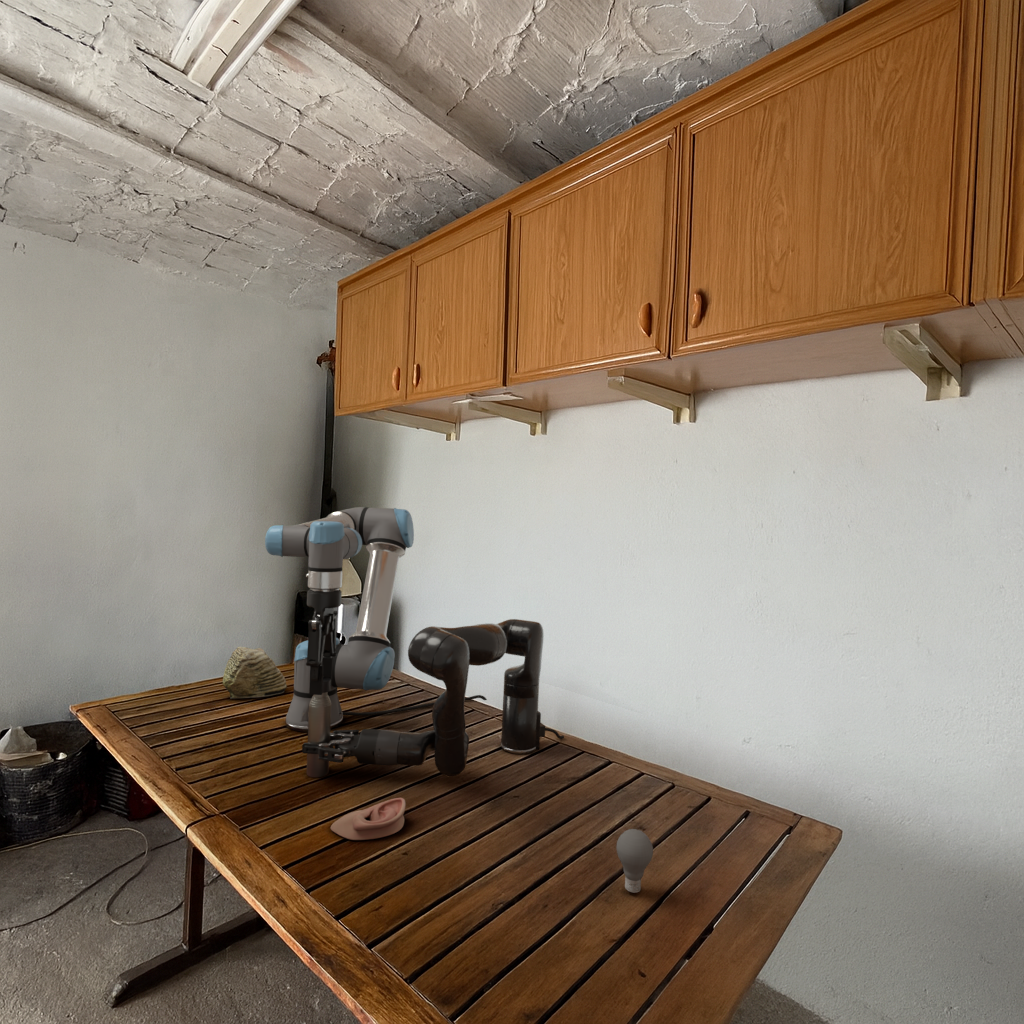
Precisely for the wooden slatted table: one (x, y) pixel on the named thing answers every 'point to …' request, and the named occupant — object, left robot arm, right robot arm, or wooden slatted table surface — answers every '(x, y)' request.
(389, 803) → the anatomical model
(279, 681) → the fossil
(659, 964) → the wooden slatted table surface
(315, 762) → the bottle
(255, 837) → the wooden slatted table surface
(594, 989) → the wooden slatted table surface
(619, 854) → the light bulb
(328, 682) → the cap
